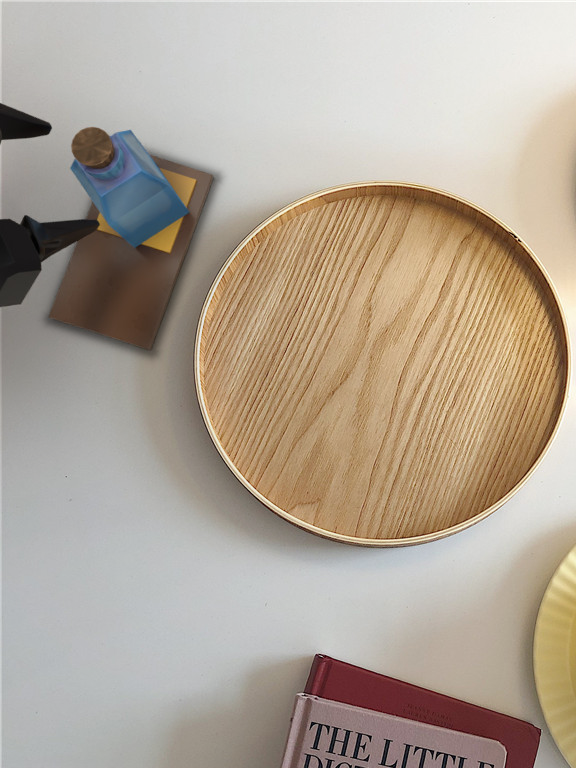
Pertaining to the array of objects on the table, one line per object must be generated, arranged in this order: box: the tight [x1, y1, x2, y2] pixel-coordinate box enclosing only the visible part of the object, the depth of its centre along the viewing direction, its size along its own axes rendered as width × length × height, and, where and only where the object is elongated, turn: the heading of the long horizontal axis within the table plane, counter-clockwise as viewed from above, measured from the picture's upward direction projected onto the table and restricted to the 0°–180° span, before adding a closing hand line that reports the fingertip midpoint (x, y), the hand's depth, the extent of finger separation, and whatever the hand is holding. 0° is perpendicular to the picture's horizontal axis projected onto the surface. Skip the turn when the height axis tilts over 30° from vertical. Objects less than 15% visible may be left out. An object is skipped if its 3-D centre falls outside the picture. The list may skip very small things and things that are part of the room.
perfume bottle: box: [69, 126, 189, 248], centre depth 60 cm, size 6×6×12 cm
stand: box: [48, 154, 215, 351], centre depth 66 cm, size 10×18×1 cm, turn 162°
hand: (73, 176), depth 57 cm, fingers open, 9 cm apart
